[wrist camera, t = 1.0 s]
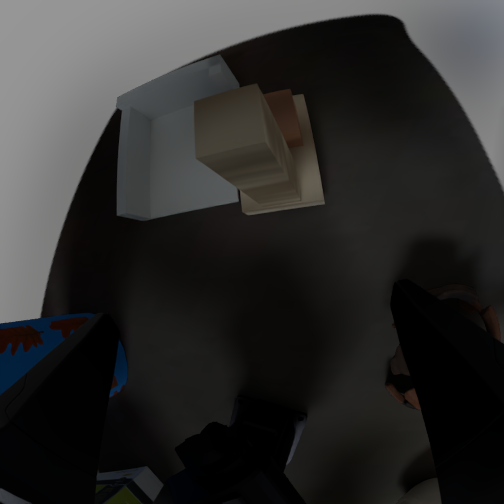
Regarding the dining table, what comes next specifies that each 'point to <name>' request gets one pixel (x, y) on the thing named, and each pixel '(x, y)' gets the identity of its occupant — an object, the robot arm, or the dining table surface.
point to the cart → (260, 147)
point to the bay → (169, 144)
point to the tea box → (127, 487)
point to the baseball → (423, 493)
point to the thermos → (44, 347)
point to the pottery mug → (466, 302)
